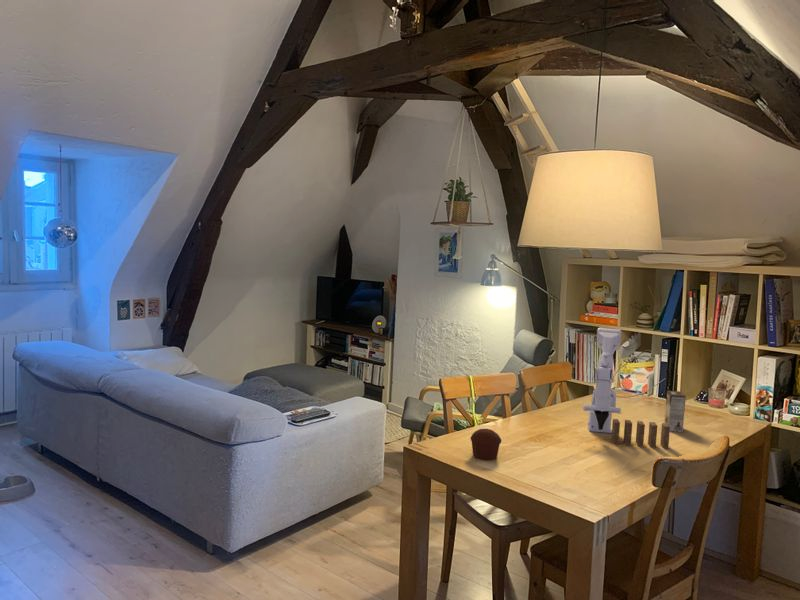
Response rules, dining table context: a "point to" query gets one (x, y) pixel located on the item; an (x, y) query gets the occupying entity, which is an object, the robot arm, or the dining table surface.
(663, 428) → the domino
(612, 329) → the robot arm
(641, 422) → the domino
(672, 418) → the coffee box
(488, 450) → the muffin
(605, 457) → the dining table surface
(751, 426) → the dining table surface
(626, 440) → the domino
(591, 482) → the dining table surface
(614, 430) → the domino
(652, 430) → the domino
